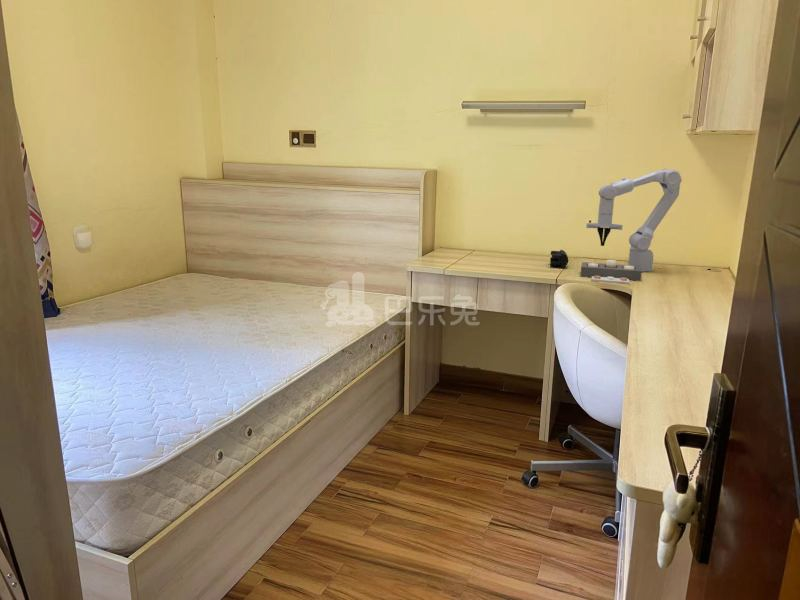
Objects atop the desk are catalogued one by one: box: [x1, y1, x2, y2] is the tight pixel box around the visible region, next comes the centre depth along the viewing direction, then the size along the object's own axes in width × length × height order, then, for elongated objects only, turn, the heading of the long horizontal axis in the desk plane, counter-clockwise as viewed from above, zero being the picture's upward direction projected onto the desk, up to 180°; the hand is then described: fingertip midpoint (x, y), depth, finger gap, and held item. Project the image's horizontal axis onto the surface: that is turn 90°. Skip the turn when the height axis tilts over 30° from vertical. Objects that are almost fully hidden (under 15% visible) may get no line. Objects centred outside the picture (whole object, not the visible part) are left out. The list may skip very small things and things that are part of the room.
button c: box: [588, 262, 598, 267], centre depth 252 cm, size 4×4×4 cm
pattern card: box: [591, 275, 630, 285], centre depth 241 cm, size 14×6×2 cm, turn 72°
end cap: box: [549, 249, 569, 269], centre depth 268 cm, size 10×7×7 cm
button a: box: [624, 264, 634, 269], centre depth 248 cm, size 4×4×4 cm
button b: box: [605, 259, 617, 268], centre depth 249 cm, size 4×4×4 cm
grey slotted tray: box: [580, 261, 643, 282], centre depth 250 cm, size 23×11×4 cm, turn 72°
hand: (602, 245), depth 261 cm, fingers closed
